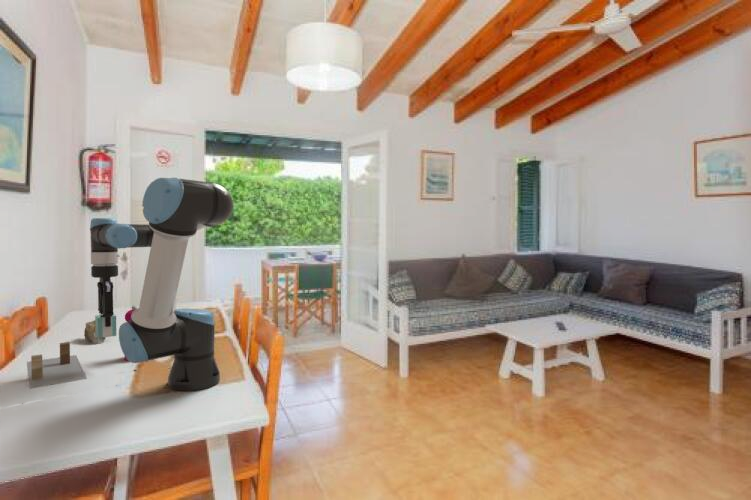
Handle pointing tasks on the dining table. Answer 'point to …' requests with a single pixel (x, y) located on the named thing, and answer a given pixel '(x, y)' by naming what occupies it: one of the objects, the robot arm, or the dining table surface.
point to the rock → (92, 333)
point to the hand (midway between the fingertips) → (106, 334)
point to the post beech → (36, 367)
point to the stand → (57, 372)
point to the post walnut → (64, 353)
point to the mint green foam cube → (99, 326)
